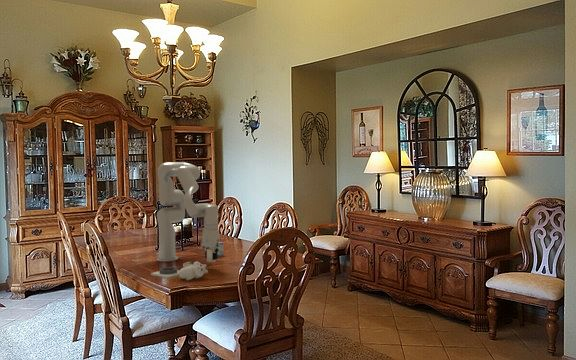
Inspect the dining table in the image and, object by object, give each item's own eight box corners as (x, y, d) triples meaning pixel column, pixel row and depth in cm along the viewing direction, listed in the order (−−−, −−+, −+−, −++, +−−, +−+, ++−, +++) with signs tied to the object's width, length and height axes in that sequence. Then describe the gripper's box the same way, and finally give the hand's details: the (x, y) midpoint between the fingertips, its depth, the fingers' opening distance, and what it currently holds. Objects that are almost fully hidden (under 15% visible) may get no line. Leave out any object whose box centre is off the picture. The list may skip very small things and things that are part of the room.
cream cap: (204, 261, 286) (204, 249, 285) (211, 259, 290) (211, 247, 290) (211, 262, 283) (211, 250, 283) (217, 261, 287) (217, 248, 287)
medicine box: (212, 257, 317) (212, 244, 317) (208, 256, 321) (208, 242, 320) (223, 256, 322) (223, 242, 321) (220, 255, 325) (219, 241, 325)
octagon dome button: (150, 274, 273) (150, 269, 273) (169, 270, 284) (169, 265, 284) (167, 278, 266) (167, 273, 266) (185, 273, 276) (185, 268, 276)
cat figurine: (177, 262, 261) (205, 256, 267) (175, 267, 268) (203, 261, 274) (181, 280, 257) (210, 273, 263) (179, 284, 264) (207, 278, 270)
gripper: (195, 226, 287) (195, 258, 288) (217, 229, 277) (217, 262, 278) (204, 224, 293) (205, 255, 294) (227, 227, 283) (227, 259, 285)
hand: (211, 258), depth 286 cm, fingers closed on cream cap, 4 cm apart
